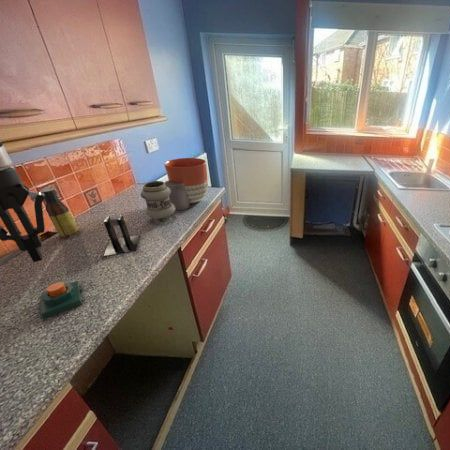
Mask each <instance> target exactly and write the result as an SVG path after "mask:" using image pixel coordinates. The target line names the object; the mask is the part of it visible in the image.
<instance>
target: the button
mask: <svg viewBox="0 0 450 450" xmlns="http://www.w3.org/2000/svg"><path fill="white" fill-rule="evenodd" d="M64 284H65V283H64V282H62V281H61V282H55V283H52V284H51V285H48V286H47V287H46V290H47V292H48V294H49V296H51V297H55V296H58V295H61V294H62V293H64V292H66V290H67V289H66V287H65V285H64ZM46 290H45V291H46Z"/></svg>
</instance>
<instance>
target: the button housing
mask: <svg viewBox="0 0 450 450" xmlns="http://www.w3.org/2000/svg"><path fill="white" fill-rule="evenodd" d="M64 285H65V287H66V289H67V290H66V292H64V293H62V294H61V295H58V296H55V297H51V296H49V294H48V292H47V290H45V291H42V292H41V294H40V295H41V297H40V313H39V314H40V317H42V319H43V320H44V319H47V318H50V317H52V316H55V315H58V314H61V313H64V312H66V311H69V310H71V309H74V308H77V307H80V306H83V299H82V293H81V288H80V283H79V281H78V280H76V281H73V282H70V283H69V282H67V283H64Z"/></svg>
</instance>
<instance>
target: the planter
mask: <svg viewBox="0 0 450 450" xmlns="http://www.w3.org/2000/svg"><path fill="white" fill-rule="evenodd" d="M163 165H164V168H165V172H166V175H167V179H168V180H167V181H171V182H175V183H184V185H185V190H186V194H187V197H188V200H189V202H190V204H196V203H199V202H200V201H202V200H203V199H204V198H205V197H206V196H207V193H208V188H209V182H208V181H209V180H208V169H207V161H206V160H205V159H202V158H198V157H181V158H174V159H169V160H168V161H165V162H164V164H163Z"/></svg>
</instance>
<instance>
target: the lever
mask: <svg viewBox="0 0 450 450" xmlns="http://www.w3.org/2000/svg"><path fill="white" fill-rule="evenodd" d="M117 220H118V218H113V219H111V220H110V225H111V226H113V227H119V224H118V221H117ZM124 220H125V223H126V226H128V225H129V223H130V222H129V219H128V218H126V217H124Z"/></svg>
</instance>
